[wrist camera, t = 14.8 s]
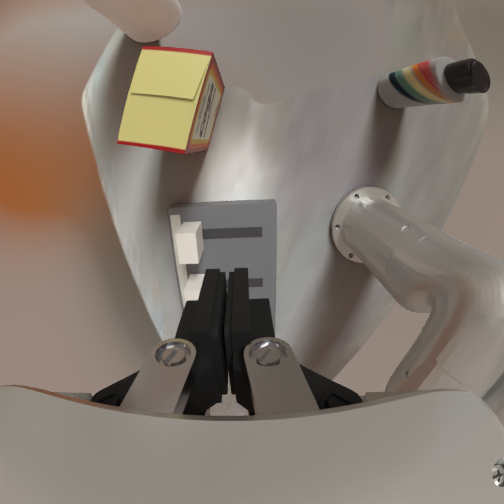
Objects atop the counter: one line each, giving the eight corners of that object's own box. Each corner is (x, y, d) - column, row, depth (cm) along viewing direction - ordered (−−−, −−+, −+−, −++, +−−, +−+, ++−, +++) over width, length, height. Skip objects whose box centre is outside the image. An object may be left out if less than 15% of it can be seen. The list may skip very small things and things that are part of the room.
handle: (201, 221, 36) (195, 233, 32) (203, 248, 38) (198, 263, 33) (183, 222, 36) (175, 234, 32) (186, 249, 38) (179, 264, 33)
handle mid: (206, 273, 40) (202, 291, 35) (209, 297, 41) (205, 316, 36) (190, 274, 40) (183, 291, 35) (193, 297, 41) (188, 316, 36)
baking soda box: (207, 149, 36) (183, 154, 21) (164, 141, 35) (115, 143, 20) (224, 87, 32) (212, 50, 17) (180, 80, 31) (141, 44, 17)
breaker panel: (274, 199, 39) (276, 203, 36) (273, 332, 48) (274, 341, 46) (171, 204, 38) (167, 208, 36) (191, 334, 48) (189, 343, 45)
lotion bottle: (400, 74, 31) (487, 52, 12) (409, 107, 33) (501, 102, 15) (372, 76, 31) (457, 45, 13) (382, 110, 33) (474, 101, 15)
